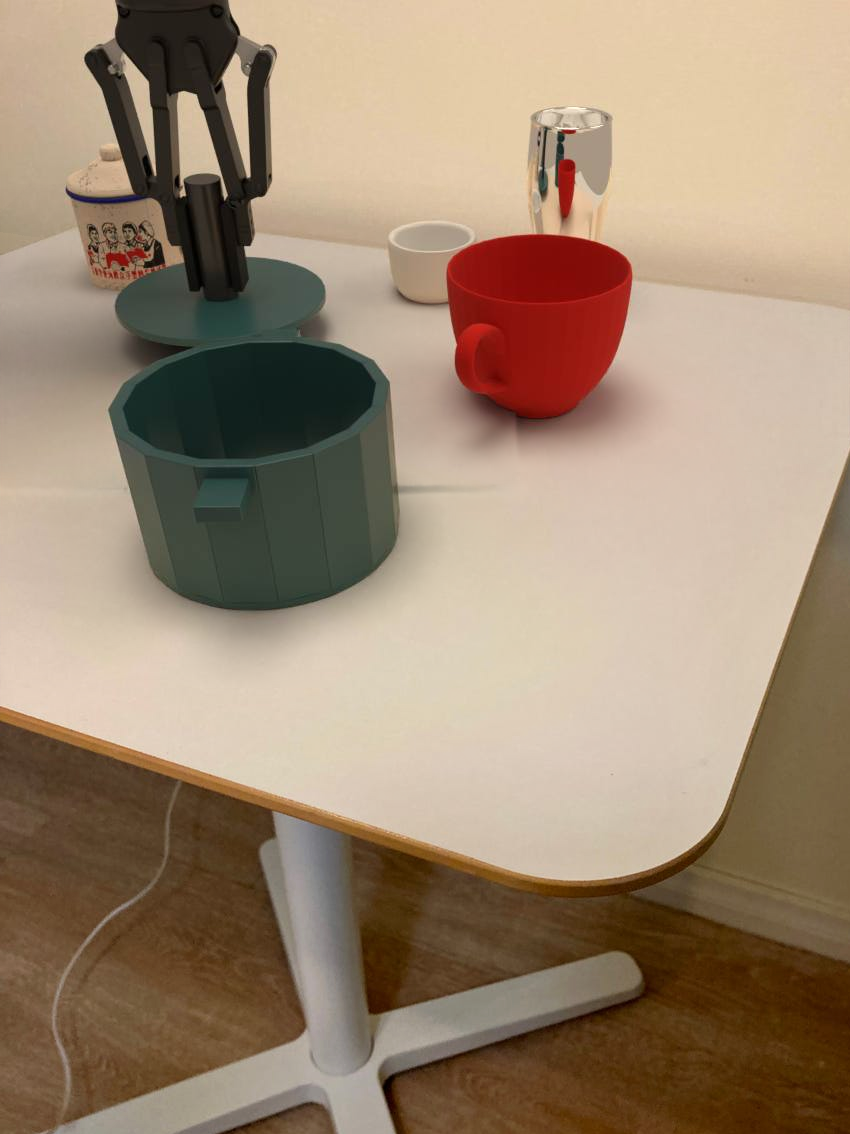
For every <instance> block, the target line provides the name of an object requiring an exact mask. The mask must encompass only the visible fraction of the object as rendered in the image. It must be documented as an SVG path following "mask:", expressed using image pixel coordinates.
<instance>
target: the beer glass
mask: <svg viewBox="0 0 850 1134" xmlns="http://www.w3.org/2000/svg"><path fill="white" fill-rule="evenodd" d="M529 118H530V119H529V121H530V123H529V124H530V125H529V135H528V144H527V145H528V146H527V156H526V157H527V159H526V192H527V202H528V203H527V204H528V212H529V219H530V224H531V225H530V227H531V231H532V234H551V235H564V236H571V237H578V238H583V239H587V240H591V241H595V242H598V243H600V238H601V234H602V230H603V226H604V221H605V218H606V212H607V208H608V203H609V198H610V197H609V196H610V192H611V185H612V173H613V120H614V119H613V116H612V115H611V114H610V113H609V112H607V111H604V110H601V109H598V108H593V107H585V106H557V107H550V108H545V109H544V108H543V109H541V110H538V111H535V112H534V113H532V114H531V116H530V117H529Z"/></svg>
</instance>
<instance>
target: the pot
mask: <svg viewBox="0 0 850 1134" xmlns="http://www.w3.org/2000/svg"><path fill="white" fill-rule="evenodd" d="M301 335H302V334H301V330H300V328H296V329H264V330H263V332H262V335H261V337H245V338H240V339H234V340H228V341H222V342H216V343H211V344H205V345H200V346H196V347H190V348H188V349H185V350H183V351H180V352H178V353H174V354H172V355H169V356H166V357H163V358H160V359H157V360H156V361H153V362H152V363H150V364H149V365H148V366H146V367H145V368H144V369H142V370H141V371H139V372H138V373H136V374H135V375H133V376H132V377H130V378H129V379H127V380H125V382H123V384H122V385H121V387H120V388H119V389H118V392H117V393H116V395H115V397H114V399H113V400H112V402H111V403H110V405H109V406H108V409H107V411H108V416H109V419H110V423H111V427H112V431H113V435H114V437H115V442H116V445H117V449H118V453H119V456H120V459H121V463H122V467H123V470H124V475H125V478H126V481H127V487H128V489H129V493H130V497H131V501H132V504H133V508H134V511H135V514H136V518H137V522H138V525H139V529H140V533H141V536H142V541H143V544H144V548H145V552H146V555H147V559H148V563H149V566H150V569H152V571H153V572H154V574H155V575H156V577H157V578H158V579H159V580H160V581H161V582H162V583H163V584H164V585H165V586H166V587H167V588H169V589H170V590H172V591H174V592H175V593H177V594H178V595H181V596H182V597H185V598H187V599H188V600H191V601H195V602H196V603H197V602H198V603H200V604H204V605H207V606H212V607H217V608H222V609H231V610H242V611H243V610H246V611H249V610H250V611H258V610H276V609H283V608H290V607H295V606H299V605H304V604H308V603H311V602H316V601H319V600H322V599H325V598H327V597H330V596H333V595H336V594H338V593H340V592H342V591H344V590H346V589H348V588H351V587H353V586H354V585H356V584H357V583H359V582H361V581H362V580H364V579H365V578H367V577H368V576H369V575H370V574H372V573H373V572H374V571H375V570H377V569H378V568H379V566H380V565H381V564H382V563H384V562H385V560H386V559H387V557H388V556H389V555H390V553H391V552H392V550H393V549H394V546H395V544H396V542H397V538H398V534H399V519H400V502H399V487H398V486H399V485H398V474H397V462H396V449H395V448H396V447H395V435H394V422H393V421H394V420H393V408H392V407H393V406H392V394H391V383H390V380H389V379H388V378H387V376H386V375H385V374H384V372H383V371H382V369H381V368H380V366H379V365H378V363H377V362H376V361H375V360H374V359H373V358H370V357H368V356H366V355H364V354H362V353H361V352H358V351H356V350H354V349H352V348H350V347H348V346H346V345H343V344H341V343H336V342H331V341H325V340H320V339H314V338H310V337H309V338H308V337H304V336H301Z"/></svg>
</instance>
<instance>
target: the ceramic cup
mask: <svg viewBox="0 0 850 1134" xmlns="http://www.w3.org/2000/svg"><path fill="white" fill-rule="evenodd" d="M446 280H447V292H448V301H449V302H448V308H449V317H450V321H451V327H452V332H453V337H454V340H455V343H456V346H455V351H454V369H455V372H456V376H457V377H458V379H459V381H460V383H461V384H462V385H463V386H464V387H465V388H466V389H467V390H469V391H471V392H474V393H477V394H483V395H486V396H487V397H488V398H489V399H491V400H492V401H493V402H494V403H495V404H497V405H498V406H499V407H502V408H504V409H505V410H509V411H512V412H515V416H516V417H521V418H528V419H545V418H552V417H557V416H561V415H564V414H566V413H569V412H571V411H572V410H574V409H575V408H576V407H577V406H578V405H579V403H580V402H581V401H582V400H584V399H585V398H586V397H587V396H588V395H589V394H590V393H591V392H592V391H593V390H594V389H595V388H596V387H597V385H598V384H599V383H600V382H601V381H602V380H603V378H604V376H605V375H606V374H607V372H608V371H609V369H610V367H611V365H613V362H614V359H615V357H616V355H617V352H618V349H619V346H620V345H621V340H622V338H623V334H624V330H625V328H626V327H625V326H626V323H627V319H628V318H627V317H628V313H629V306H630V300H631V295H632V286H633V269H632V264H631V262H630V261H629V259H628V258H627V256H625V255H624V254H623V253H622V252H620V251H619V250H617V249H615V248H613V247H611V246H610V245H606V244H604V243H601V242H599V243H598V242H595V241H591V240H587V239H583V238H578V237H571V236H564V235H551V234H533V233H527V234H514V235H508V236H507V235H506V236H500V237H495V238H491V239H487V240H483V241H480V242H477V244H474V245H471V246H469V247H467V248H465V249H463V250H461V251H459V252H458V253H457V254H456V255H454V256H453V257H452V259H451V260H450V261H449V263H448V266H447V271H446Z"/></svg>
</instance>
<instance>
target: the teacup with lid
mask: <svg viewBox="0 0 850 1134" xmlns="http://www.w3.org/2000/svg"><path fill="white" fill-rule="evenodd" d="M98 151H99V157H97V158H95V159H93V160H92V161H90V162H89V163H88V164H87V165H86V166H85V167H83V168H80V169H78V170H75V172H73V173H72V174H70V175H69V176H68V178H67V179H66V182H65V193H66V195H67V196H68V197H69V198H70V201H71V206H72V209H73V213H74V218H75V221H76V225H77V229H78V233H79V236H80V241H81V245H82V248H83V251H84V257H85V259H86V264H87V267H88V271H89V276H90V278H91V281H92V283H93V284H94V285H95V286H97V287H99V288H101V289H103V290H109V291H115V292H116V291H117V292H121V291H122V290H123V289H124V288H125V287H126V286H127V285H129V284H130V283H132V282H133V281H135V280H136V279H138V278H140V277H142V276H144V275H146V274H148V273H151V272H153V271H156V270H159V269H162V268H165V267H168V266H172V265H175V264H179V263H184V258H183V253H182V247H181V246H171V245H170V243H169V241H168V239H167V234H166V229H165V223H164V218H163V213H162V208H161V206H160V204H159V203H158V202H157V201H156V200H154V199H152V198H149V197H147V196H144V197H139V196H137V195H136V194H135V193H134V192H133V190H132V188H131V184H130V181H129V178H128V174H127V171H126V168H125V165H124V161H123V158H122V155H121V151H120V148H119V145H118V143H114V142H113V143H111V142H110V143H105V144H102V145H101V146H100V147H99V150H98ZM151 164H152V167H153V171H154V174H155V176H156V164H155V163H153V162H151ZM182 196H186V194H185V193H184V194H183V193H182V194H181V193H180V197H182Z"/></svg>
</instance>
